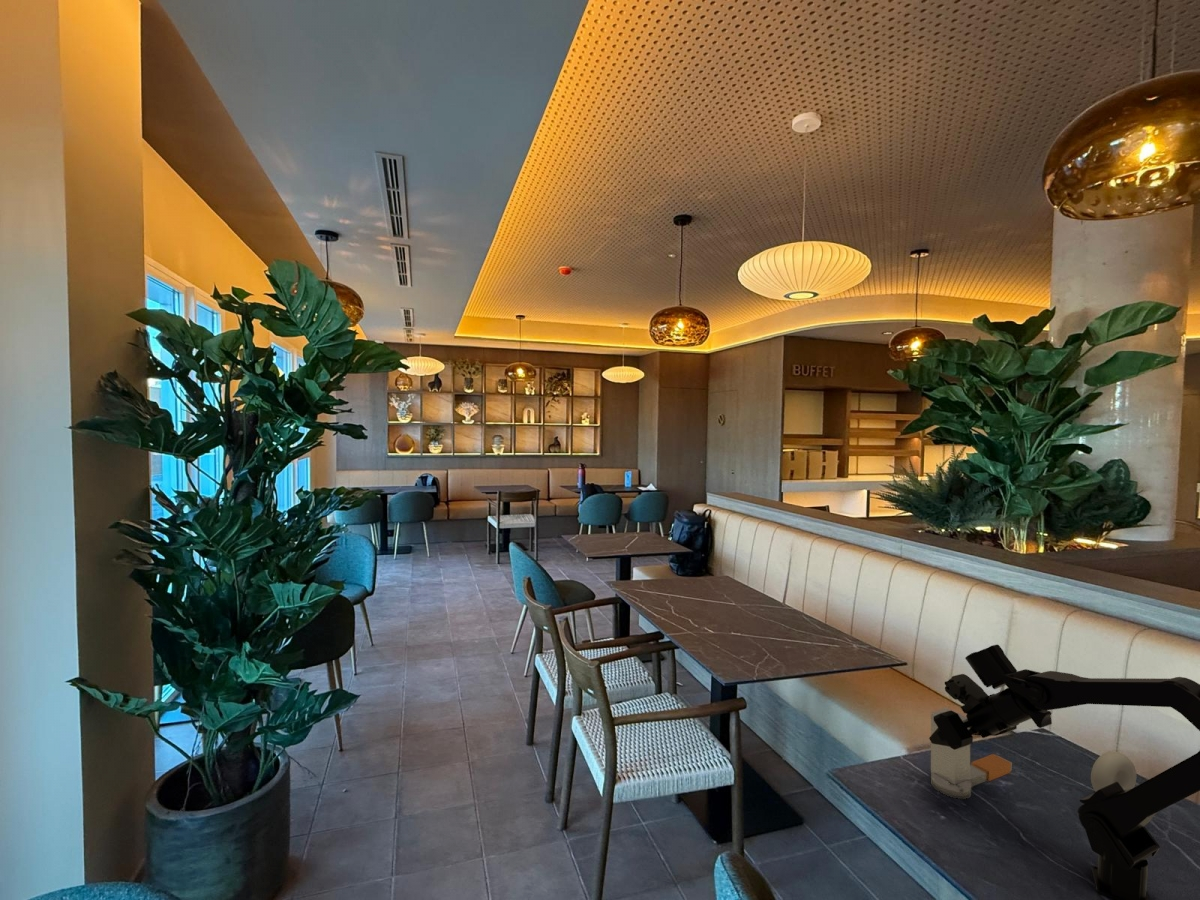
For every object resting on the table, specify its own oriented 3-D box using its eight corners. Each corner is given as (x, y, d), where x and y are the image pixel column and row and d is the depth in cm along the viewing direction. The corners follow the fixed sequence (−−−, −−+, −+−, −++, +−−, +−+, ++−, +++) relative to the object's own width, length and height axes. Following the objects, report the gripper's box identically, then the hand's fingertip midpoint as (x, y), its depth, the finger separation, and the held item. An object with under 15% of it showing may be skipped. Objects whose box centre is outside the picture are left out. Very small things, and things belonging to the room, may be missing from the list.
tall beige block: (970, 778, 113) (970, 718, 113) (954, 784, 110) (954, 722, 111) (946, 766, 117) (946, 707, 117) (930, 771, 115) (931, 712, 115)
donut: (1104, 810, 108) (1107, 760, 108) (1085, 798, 111) (1087, 750, 111) (1139, 802, 111) (1142, 754, 110) (1119, 791, 114) (1122, 744, 114)
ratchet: (957, 803, 109) (958, 778, 109) (923, 782, 115) (924, 759, 115) (1021, 775, 118) (1022, 753, 118) (987, 758, 125) (988, 736, 125)
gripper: (1003, 661, 113) (948, 690, 124) (945, 675, 106) (891, 705, 116) (1045, 717, 106) (983, 742, 117) (986, 736, 99) (925, 762, 109)
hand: (945, 736), depth 115 cm, fingers open, 9 cm apart
